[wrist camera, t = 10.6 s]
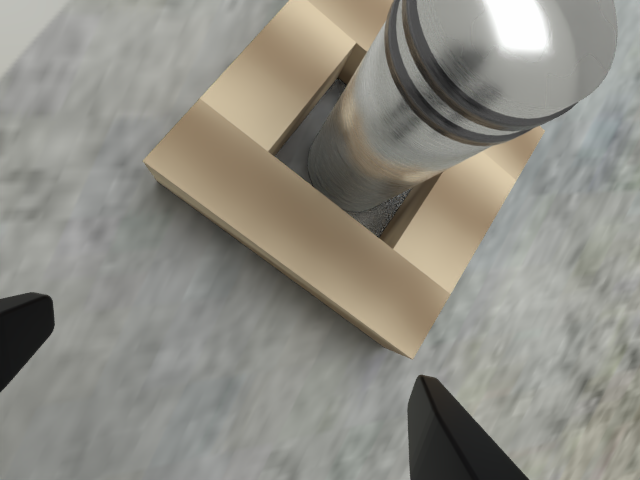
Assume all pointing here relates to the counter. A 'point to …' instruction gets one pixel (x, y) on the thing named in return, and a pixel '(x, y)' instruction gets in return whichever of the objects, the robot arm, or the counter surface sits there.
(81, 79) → the counter surface
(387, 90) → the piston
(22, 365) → the robot arm
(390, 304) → the tan square ring
